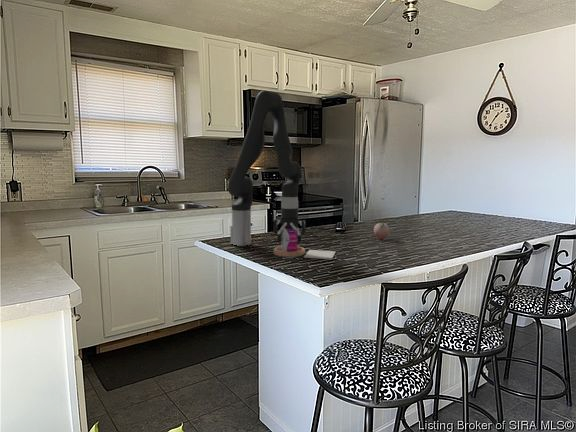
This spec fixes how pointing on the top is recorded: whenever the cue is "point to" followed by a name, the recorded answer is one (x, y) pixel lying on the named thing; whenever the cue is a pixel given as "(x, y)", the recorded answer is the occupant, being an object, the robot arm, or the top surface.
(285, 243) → the supplement box
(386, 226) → the decorative fruit
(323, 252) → the rubber mat
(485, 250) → the top surface
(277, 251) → the tan faceted ring
